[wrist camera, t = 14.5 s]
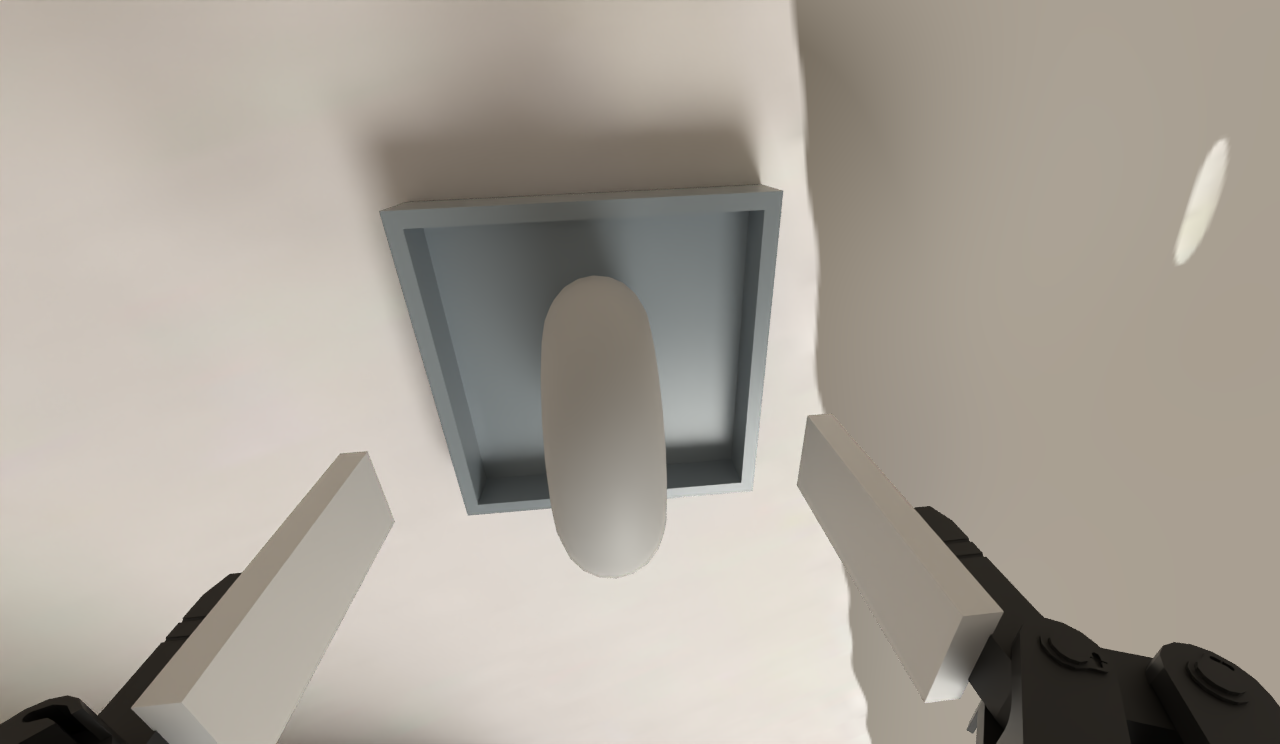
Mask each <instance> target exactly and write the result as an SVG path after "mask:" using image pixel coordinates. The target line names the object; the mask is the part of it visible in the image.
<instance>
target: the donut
mask: <svg viewBox="0 0 1280 744" xmlns="http://www.w3.org/2000/svg"><path fill="white" fill-rule="evenodd" d="M541 407H542V429H543V441H544V453H545V465H546V473H547V480H548V487H549V495H550V502H551V508H552V512H553V517H554V521H555V526H556V530H557V533H558V535H559V537H560V540H561V542H562V544H563V546H564V547H565V549H566V551H567V553H568V555H569V557H570V559H571V560H573V561H574V562H575V563H576V564H577V565H578V566H579V567H580V568H581V569H582V570H583V571H586V572H588V573H590V574H593V575H595V576H597V577H602V578H620V577H623V576H627V575H630V574H633V573H635V572H636V571H638V570H639V569H641V568H642V567H643V566H645V565H646V564H648V562H649V561H650V560H651V558H652V557H653V556H654V554H655V553H656V552H657V550H658V549H659V546H660V543H661V540H662V537H663V534H664V530H665V525H666V509H667V470H666V446H665V433H664V420H663V409H662V400H661V391H660V382H659V374H658V368H657V361H656V355H655V348H654V343H653V338H652V333H651V329H650V324H649V320H648V316H647V313H646V311H645V309H644V307H643V306H642V304H641V302H640V301H639V299H638V297H637V296H636V294H635V293H634V292H633V291H632V290H631V289H630V288H628V287H627V286H626V285H625V284H624V283H622V282H620V281H617V280H615V279H613V278H611V277H605V276H595V275H593V276H588V277H584V278H580V279H577V280H575V281H574V282H572V283H570V284H569V285H567V286H565V287H564V288H563V289H562V291H561V292H560V293H559V294H558V295H557V296H556V298H555V299H554V300H553V302H552V304H551V306H550V308H549V311H548V313H547V316H546V319H545V321H544V328H543V336H542V346H541Z"/></svg>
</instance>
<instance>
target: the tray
mask: <svg viewBox="0 0 1280 744" xmlns="http://www.w3.org/2000/svg"><path fill="white" fill-rule="evenodd" d="M782 197H783V191H782V190H778V189H775V188H772V187H768V186H765V185H762V184H760V185H740V186H720V187H700V188H679V189H659V190H639V191H619V192H599V193H579V194H558V195H538V196H518V197H498V198H478V199H458V200H437V201H417V202H405V203H402V204H399V205H396V206H393V207H390V208H388V209H385V210H382V211H379V212H380V216H381V219H382V223H383V226H384V229H385V233H386V236H387V240H388V243H389V247H390V250H391V253H392V257H393V260H394V264H395V267H396V271H397V274H398V277H399V281H400V284H401V288H402V291H403V295H404V298H405V302H406V305H407V308H408V312H409V315H410V319H411V322H412V326H413V329H414V332H415V336H416V339H417V343H418V346H419V350H420V353H421V356H422V360H423V363H424V367H425V370H426V374H427V377H428V381H429V384H430V387H431V391H432V394H433V398H434V401H435V405H436V408H437V411H438V415H439V418H440V422H441V425H442V429H443V432H444V435H445V439H446V442H447V446H448V449H449V453H450V456H451V460H452V463H453V466H454V470H455V473H456V477H457V480H458V484H459V487H460V490H461V494H462V497H463V501H464V504H465V508H466V511H467V514H468V515H479V514H491V513H502V512H514V511H526V510H538V509H549V508H551V502H550V495H549V487H548V480H547V473H546V465H545V453H544V441H543V429H542V407H541V346H542V336H543V328H544V321H545V319H546V316H547V313H548V311H549V308H550V306H551V304H552V302H553V300H554V299H555V298H556V296H557V295H558V294H559V293H560V292H561V291H562V289H563V288H564V287H565V286H567V285H569V284H570V283H572V282H574V281H575V280H577V279H580V278H584V277H588V276H593V275H595V276H605V277H611V278H613V279H615V280H617V281H620V282H622V283H624V284H625V285H626V286H627V287H628V288H630V289H631V290H632V291H633V292H634V293H635V294H636V296H637V297H638V299H639V301H640V302H641V304H642V306H643V307H644V309H645V311H646V313H647V316H648V320H649V324H650V329H651V333H652V338H653V343H654V348H655V355H656V361H657V368H658V374H659V382H660V391H661V400H662V409H663V420H664V433H665V446H666V470H667V498H678V497H690V496H701V495H713V494H725V493H736V492H748V491H753V483H754V473H755V463H756V453H757V444H758V434H759V424H760V414H761V404H762V394H763V385H764V375H765V365H766V355H767V345H768V335H769V325H770V316H771V306H772V296H773V286H774V276H775V266H776V257H777V247H778V237H779V227H780V217H781V207H782Z"/></svg>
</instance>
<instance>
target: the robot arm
mask: <svg viewBox="0 0 1280 744" xmlns="http://www.w3.org/2000/svg"><path fill="white" fill-rule="evenodd" d="M797 486H798V488H799V490H800V491H801V493H802V495H803V496H804V498H805V500H806V502H807V503H808V505H809V507H810V508H811V510H812V512H813V513H814V515H815V517H816V519H817V520H818V522H819V524H820V525H821V527H822V529H823V531H824V532H825V534H826V536H827V537H828V539H829V541H830V542H831V544H832V546H833V548H834V549H835V551H836V553H837V554H838V556H839V558H840V560H841V561H842V563H843V565H844V566H845V568H846V570H847V571H848V573H849V575H850V577H851V578H852V580H853V582H854V583H855V585H856V587H857V589H858V590H859V592H860V594H861V595H862V597H863V599H864V600H865V602H866V604H867V606H868V607H869V609H870V611H871V613H872V614H873V616H874V617H875V619H876V621H877V623H878V624H879V626H880V628H881V630H882V631H883V633H884V635H885V636H886V638H887V640H888V642H889V643H890V645H891V646H892V648H893V650H894V652H895V653H896V655H897V657H898V659H899V660H900V662H901V664H902V665H903V667H904V669H905V670H906V672H907V674H908V676H909V677H910V679H911V681H912V682H913V684H914V686H915V688H916V689H917V691H918V692H919V694H920V696H921V698H922V700H923V701H924V703H929V702H936V701H945V700H954V699H960V698H961V696H962V694H963V692H964V690H965V688H966V686H967V684H968V682H970V683H971V685H972V686H973V688H974V689H975V691H976V692H977V694H978V695H979V697H980V698H981V699H982V700H981V702H980V703H979V705H978V707H977V709H976V711H975V713H974V714H973V716H972V718H971V720H970V722H969V725H968V728H967V731H969V732H971V733H974V731H975V730H976V728H977V737H976V744H1280V707H1279V705H1278V704H1277V703H1276V701H1275V700H1274V699H1273V697H1272V696H1271V695H1270V694H1269V693H1268V692H1267V691H1266V690H1265V689H1264V688H1263V687H1262V686H1261V685H1260V684H1259V683H1258V681H1257V680H1255V679H1254V678H1253V677H1252V676H1250V675H1249V674H1247V673H1246V672H1245V671H1243V670H1242V669H1241V668H1239V667H1238V666H1236V665H1235V664H1233V663H1232V662H1230V661H1228V660H1226V659H1224V658H1222V657H1221V656H1219V655H1217V654H1215V653H1213V652H1211V651H1208V650H1205V649H1202V648H1200V647H1197V646H1194V645H1191V644H1183V643H1176V642H1174V643H1171V644H1167V645H1164V646H1162V648H1161V649H1160V650H1159V652H1158V653H1157V654H1156V655H1155V657H1154V658H1150V657H1145V656H1140V655H1134V654H1129V653H1124V652H1118V651H1114V650H1109V649H1103V648H1100V647H1099V646H1098V645H1097V644H1096V643H1094V642H1093V641H1092V640H1090V639H1089V638H1088V637H1086V636H1085V635H1084V634H1083V633H1081V632H1080V631H1077V630H1076V629H1073V628H1072V627H1070V626H1068V625H1066V624H1064V623H1061V622H1058V621H1054V620H1051V619H1047V618H1044V617H1043V616H1042V615H1041V614H1040V613H1039V612H1038V611H1037V610H1036V609H1035V608H1034V607H1033V606H1032V605H1031V604H1030V603H1029V602H1028V601H1027V600H1026V599H1025V598H1024V596H1022V595H1021V593H1020V592H1019V591H1018V590H1017V589H1016V588H1015V587H1014V586H1013V585H1012V584H1011V583H1010V582H1009V581H1008V579H1007V578H1006V577H1005V576H1004V575H1003V574H1002V573H1001V572H1000V571H999V570H998V569H997V568H996V567H995V566H994V565H993V564H992V562H991V561H990V560H989V559H988V558H987V557H983V554H982V552H981V551H980V550H979V549H978V548H977V546H976V545H975V544H974V543H973V542H970V541H969V538H968V537H967V536H966V535H965V534H964V533H963V532H962V531H961V530H960V528H959V527H958V526H957V525H956V524H955V523H954V522H953V521H952V520H950V519H949V518H947V517H946V516H944V515H943V514H941V513H940V512H938V511H937V510H935V509H934V508H932V507H930V506H927V507H916V508H913V507H912V505H911V504H910V503H909V502H908V501H907V500H906V498H905V497H904V496H903V495H902V494H901V493H900V492H899V490H898V489H897V488H896V487H895V486H894V485H893V484H892V483H891V481H890V480H889V479H888V478H887V477H886V476H885V474H884V473H883V472H882V471H881V470H880V469H879V467H878V466H877V465H876V464H875V463H874V462H873V461H872V459H871V458H870V457H869V456H868V455H867V454H866V452H865V451H864V450H863V449H862V448H861V447H860V446H859V444H858V443H857V442H856V441H855V440H854V439H853V438H852V436H851V435H850V434H849V433H848V432H847V431H846V429H845V428H844V427H843V426H842V425H841V424H840V423H839V421H838V420H837V419H836V418H835V417H834V416H833V415H832V414H821V415H809V416H807V423H806V429H805V436H804V442H803V449H802V455H801V462H800V468H799V475H798V482H797ZM394 522H395V521H394V519H393V516H392V513H391V511H390V508H389V506H388V503H387V501H386V498H385V495H384V493H383V490H382V488H381V485H380V482H379V480H378V477H377V475H376V472H375V469H374V467H373V464H372V462H371V459H370V456H369V454H368V451H366V452H354V453H342V454H340V455H339V456H338V457H337V458H336V459H335V461H334V462H333V463H332V464H331V465H330V467H329V468H328V469H327V470H326V472H325V473H324V474H323V475H322V476H321V478H320V479H319V480H318V481H317V482H316V484H315V485H314V486H313V487H312V489H311V490H310V491H309V492H308V493H307V495H306V496H305V497H304V498H303V499H302V501H301V502H300V503H299V504H298V506H297V507H296V508H295V509H294V510H293V512H292V513H291V514H290V515H289V516H288V518H287V519H286V520H285V521H284V523H283V524H282V525H281V526H280V527H279V529H278V530H277V531H276V532H275V533H274V535H273V536H272V537H271V538H270V540H269V541H268V542H267V543H266V544H265V546H264V547H263V548H262V549H261V550H260V552H259V553H258V554H257V555H256V557H255V558H254V559H253V560H252V561H251V563H250V564H249V565H248V566H247V567H246V569H245V570H244V571H243V572H242V573H235V574H229V575H228V576H227V577H225V578H224V579H223V580H222V581H220V582H219V583H218V584H216V585H215V586H214V587H213V588H211V589H210V590H209V591H207V592H206V593H205V594H204V595H203V596H202V597H201V598H200V599H199V600H198V601H197V602H196V604H195V605H194V606H193V607H192V608H191V609H190V610H189V612H188V613H187V614H186V615H185V616H184V617H183V621H182V623H178V624H177V625H176V627H175V628H174V629H173V630H172V631H171V632H170V633H169V635H168V636H167V637H166V641H165V642H164V643H161V644H160V645H159V646H158V647H157V648H156V650H155V651H154V652H153V653H152V654H151V655H150V656H149V658H148V659H147V660H146V661H145V662H144V663H143V665H142V666H141V667H140V668H139V669H138V670H137V671H136V673H135V674H134V675H133V676H132V677H131V678H130V679H129V681H128V682H127V683H126V684H125V685H124V686H123V688H122V689H121V690H120V691H119V692H118V693H117V694H116V696H115V697H114V698H113V699H112V700H111V701H110V702H109V704H108V705H107V706H106V707H105V708H104V709H103V711H102V712H101V713H100V714H99V715H98V716H97V715H96V714H95V713H94V712H93V711H92V710H91V709H90V708H89V707H88V706H87V705H86V704H85V703H83V702H82V701H81V700H80V699H79V698H75V697H71V696H63V697H58V698H53V699H48V700H46V701H44V702H41V703H39V704H37V705H34V706H32V707H30V708H27V709H25V710H23V711H22V712H20V713H18V714H17V715H15V716H14V717H12V718H10V719H9V720H7V721H5V722H4V723H2V724H0V744H276V743H277V742H278V740H279V738H280V736H281V734H282V732H283V730H284V728H285V727H286V725H287V723H288V721H289V719H290V717H291V715H292V713H293V712H294V710H295V708H296V706H297V704H298V702H299V700H300V698H301V696H302V695H303V693H304V691H305V689H306V687H307V685H308V683H309V681H310V680H311V678H312V676H313V674H314V672H315V670H316V668H317V666H318V665H319V663H320V661H321V659H322V657H323V655H324V653H325V651H326V650H327V648H328V646H329V644H330V642H331V640H332V638H333V636H334V635H335V633H336V631H337V629H338V627H339V625H340V623H341V621H342V620H343V618H344V616H345V614H346V612H347V610H348V608H349V606H350V604H351V603H352V601H353V599H354V597H355V595H356V593H357V591H358V589H359V588H360V586H361V584H362V582H363V580H364V578H365V576H366V574H367V573H368V571H369V569H370V567H371V565H372V563H373V561H374V559H375V558H376V556H377V554H378V552H379V550H380V548H381V546H382V544H383V543H384V541H385V539H386V537H387V535H388V533H389V531H390V529H391V527H392V526H393V524H394Z"/></svg>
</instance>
